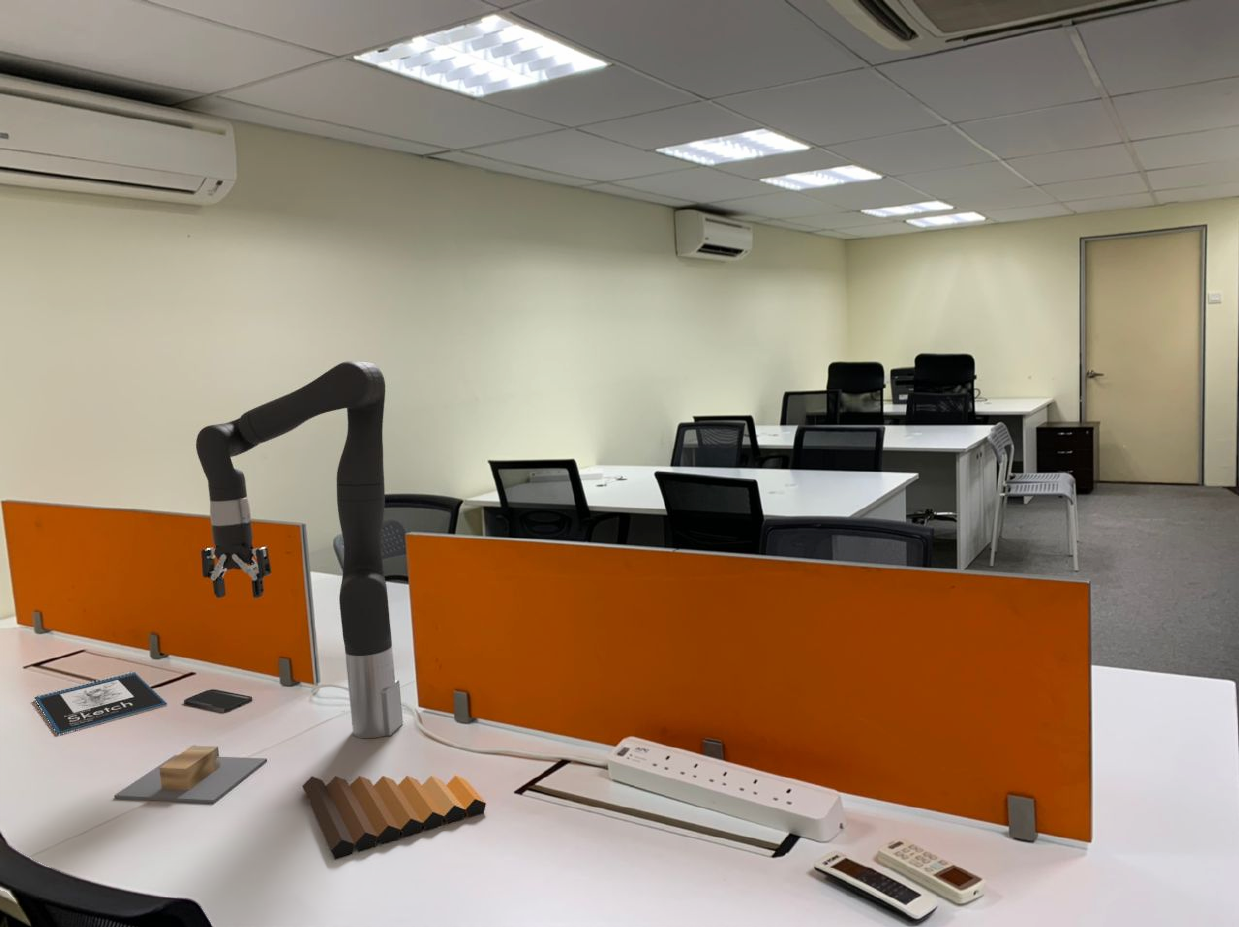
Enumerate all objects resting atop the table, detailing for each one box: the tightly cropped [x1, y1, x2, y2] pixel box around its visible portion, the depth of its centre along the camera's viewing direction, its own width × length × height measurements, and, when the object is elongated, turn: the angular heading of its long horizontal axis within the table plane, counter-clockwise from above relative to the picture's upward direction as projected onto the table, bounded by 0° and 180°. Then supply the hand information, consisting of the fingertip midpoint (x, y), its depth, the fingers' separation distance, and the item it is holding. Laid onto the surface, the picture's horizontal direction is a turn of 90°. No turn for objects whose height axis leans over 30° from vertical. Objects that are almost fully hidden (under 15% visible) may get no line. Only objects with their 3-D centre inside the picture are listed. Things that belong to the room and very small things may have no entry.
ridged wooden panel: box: [301, 775, 487, 860], centre depth 151 cm, size 25×3×25 cm
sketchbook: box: [33, 671, 168, 736], centre depth 206 cm, size 22×30×2 cm
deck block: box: [159, 745, 220, 790], centre depth 163 cm, size 9×6×4 cm, turn 169°
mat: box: [113, 754, 268, 804], centre depth 164 cm, size 20×16×1 cm
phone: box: [183, 688, 254, 713], centre depth 202 cm, size 8×1×15 cm
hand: (239, 596), depth 184 cm, fingers open, 8 cm apart
